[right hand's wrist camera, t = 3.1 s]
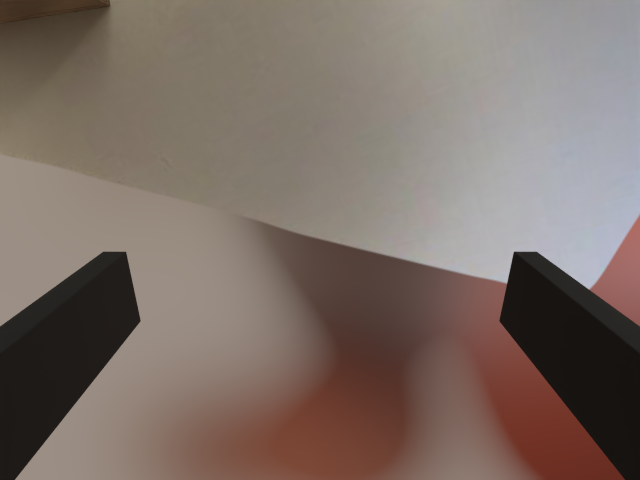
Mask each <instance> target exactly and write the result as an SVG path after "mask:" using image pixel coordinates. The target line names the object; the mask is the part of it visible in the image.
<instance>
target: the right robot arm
mask: <svg viewBox="0 0 640 480" xmlns="http://www.w3.org/2000/svg"><path fill="white" fill-rule="evenodd" d="M139 322H140V316H139V311H138V306H137V302H136V297H135V292H134V288H133V283H132V278H131V273H130V269H129V264H128V259H127V255H126V252H102V253H101V254H100V255H98V256H97V257H96V258H94V259H93V260H91V261H90V262H89V263H87V264H86V265H85V266H83V267H82V268H80V269H79V270H78V271H76V272H75V273H73V274H72V275H71V276H69V277H68V278H67V279H65V280H64V281H62V282H61V283H60V284H58V285H57V286H56V287H54V288H53V289H51V290H50V291H49V292H47V293H46V294H44V295H43V296H42V297H40V298H39V299H38V300H36V301H35V302H33V303H32V304H31V305H29V306H28V307H27V308H25V309H24V310H22V311H21V312H20V313H18V314H17V315H16V316H14V317H13V318H11V319H10V320H9V321H7V322H6V323H5V324H3V325H2V326H0V480H15V479H16V478H17V476H18V475H19V474H20V472H21V471H22V470H23V469H24V467H25V466H26V465H27V464H28V462H29V461H30V460H31V459H32V457H33V456H34V455H35V454H36V452H37V451H38V450H39V448H40V447H41V446H42V445H43V443H44V442H45V441H46V440H47V438H48V437H49V436H50V435H51V433H52V432H53V431H54V430H55V428H56V427H57V426H58V425H59V423H60V422H61V421H62V420H63V418H64V417H65V416H66V414H67V413H68V412H69V411H70V409H71V408H72V407H73V406H74V404H75V403H76V402H77V401H78V399H79V398H80V397H81V396H82V394H83V393H84V392H85V390H86V389H87V388H88V387H89V385H90V384H91V383H92V382H93V380H94V379H95V378H96V377H97V375H98V374H99V373H100V372H101V370H102V369H103V368H104V367H105V365H106V364H107V363H108V362H109V360H110V359H111V358H112V356H113V355H114V354H115V353H116V351H117V350H118V349H119V348H120V346H121V345H122V344H123V343H124V341H125V340H126V339H127V338H128V336H129V335H130V334H131V332H132V331H133V330H134V329H135V327H136V326H137V325H138V324H139ZM500 322H501V324H502V325H503V326H504V327H505V329H506V330H507V331H508V332H509V334H510V335H511V336H512V338H513V339H514V340H515V341H516V343H517V344H518V345H519V346H520V348H521V349H522V350H523V351H524V353H525V354H526V355H527V356H528V358H529V359H530V360H531V362H532V363H533V364H534V365H535V367H536V368H537V369H538V370H539V372H540V373H541V374H542V375H543V377H544V378H545V379H546V380H547V382H548V383H549V384H550V385H551V387H552V388H553V389H554V390H555V392H556V393H557V394H558V396H559V397H560V398H561V399H562V401H563V402H564V403H565V404H566V406H567V407H568V408H569V409H570V411H571V412H572V413H573V414H574V416H575V417H576V418H577V420H578V421H579V422H580V423H581V425H582V426H583V427H584V428H585V430H586V431H587V432H588V433H589V435H590V436H591V437H592V438H593V440H594V441H595V442H596V444H597V445H598V446H599V447H600V449H601V450H602V451H603V452H604V454H605V455H606V456H607V457H608V459H609V460H610V461H611V462H612V464H613V465H614V466H615V467H616V469H617V470H618V471H619V473H620V474H621V475H622V476H623V478H624V479H625V480H640V326H638V325H637V324H635V323H634V322H633V321H631V320H630V319H629V318H627V317H626V316H624V315H623V314H622V313H620V312H619V311H618V310H616V309H615V308H613V307H612V306H611V305H609V304H608V303H607V302H605V301H604V300H602V299H601V298H600V297H598V296H597V295H595V294H594V293H593V292H591V291H590V290H589V289H587V288H586V287H584V286H583V285H582V284H580V283H579V282H578V281H576V280H575V279H573V278H572V277H571V276H569V275H568V274H567V273H565V272H564V271H562V270H561V269H560V268H558V267H557V266H556V265H554V264H553V263H551V262H550V261H549V260H547V259H546V258H544V257H543V256H542V255H540V254H539V253H538V252H514V254H513V259H512V264H511V269H510V273H509V278H508V283H507V288H506V292H505V297H504V302H503V307H502V311H501V316H500Z"/></svg>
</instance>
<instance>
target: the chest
mask: <svg viewBox="0 0 640 480" xmlns="http://www.w3.org/2000/svg"><path fill="white" fill-rule="evenodd" d="M106 6H110V3H109V0H0V23H3V22H10V21H16V20H23V19H29V18H35V17H42V16H48V15H55V14H61V13H68V12H74V11H80V10H87V9H93V8H100V7H106Z"/></svg>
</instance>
